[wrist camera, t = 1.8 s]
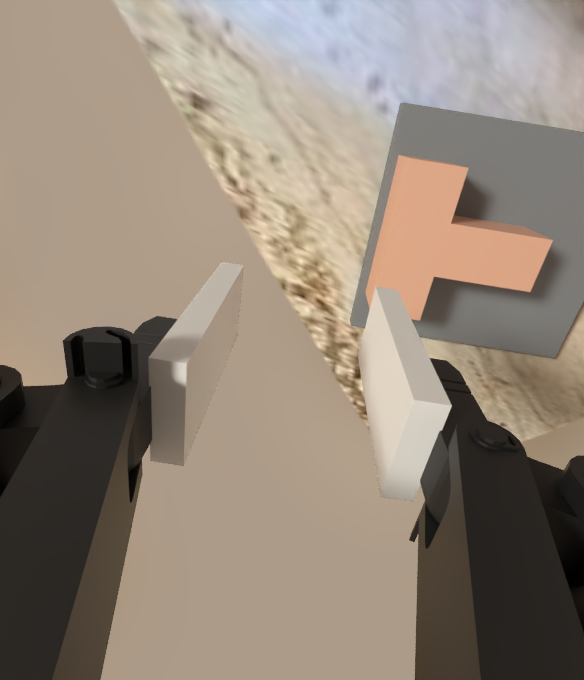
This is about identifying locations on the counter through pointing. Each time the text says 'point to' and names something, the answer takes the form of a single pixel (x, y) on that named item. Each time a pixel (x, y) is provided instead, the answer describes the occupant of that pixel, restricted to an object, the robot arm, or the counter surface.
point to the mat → (504, 207)
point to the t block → (446, 239)
